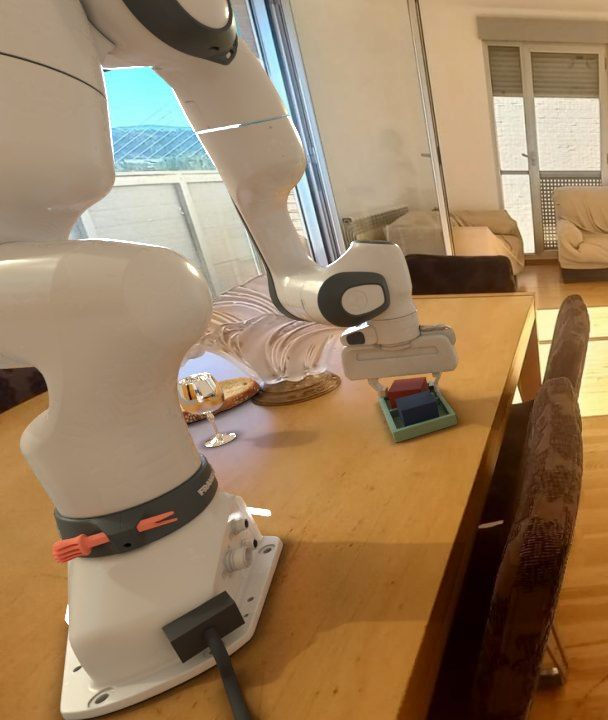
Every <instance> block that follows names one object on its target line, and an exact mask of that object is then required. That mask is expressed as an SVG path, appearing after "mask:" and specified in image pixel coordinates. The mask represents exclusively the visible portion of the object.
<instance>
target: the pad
mask: <svg viewBox="0 0 608 720" xmlns="http://www.w3.org/2000/svg"><path fill="white" fill-rule="evenodd" d="M396 404H397V408H398V412H399V416H400V419H401V421H402V423H403V425H404V427H407V426H410V425H414V424H417V423H421V422H424V421H427V420H431V419H434V418H438V417H440V416H439V411H438V406H437V401H436V400H435V398H434V397H433V395H432V394H431V392H430V391H429V390H428V391H424V392H421V393H417V394H413V395H409V396H406V397H402V398H398V399H396Z"/></svg>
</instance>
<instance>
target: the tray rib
mask: <svg viewBox="0 0 608 720" xmlns="http://www.w3.org/2000/svg"><path fill="white" fill-rule="evenodd" d="M435 400H436V401H437V405H440V403H439V398H438V397H436V398H435ZM390 414H391V416H392V418H394V417H397V416H399V412H398V408H395V409H391V410H390Z"/></svg>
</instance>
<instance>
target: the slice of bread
mask: <svg viewBox="0 0 608 720" xmlns="http://www.w3.org/2000/svg"><path fill="white" fill-rule="evenodd" d="M217 382H218V383H219V385H220V386H221V388H222V390H223V392H224V398H225V399H224V403H223V404H222V406H221V407H220V408H218V409H217V410H215V411H213V412H211V414H213V415H214V416H215V415H217V414H219V413H221V412H223V411H227V410H229V409H232V408H234V407H237V406H239V405H240V404H242V403H244V402H247V401H248V400H249V399H252V398H253V397H254V396H255V395H256V394H257V393H258V392H260V389H261V385H260V384H259V383H258V382H257V381H256V380H255V379H253V378H251V377H245V376H244V377H243V376H241V377H240V376H239V377H235V378H229V379H224V380H220V381H217ZM179 403H180V402H179ZM180 407H181V410H182V413H183V415H184V418H185V421H186V423H187V425H188V424H191V423H195V422H197V421H202V420H204V419H207V414H191V413H189V412H187V411H185V410H184V409H183V407H182V406H181V404H180Z"/></svg>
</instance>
